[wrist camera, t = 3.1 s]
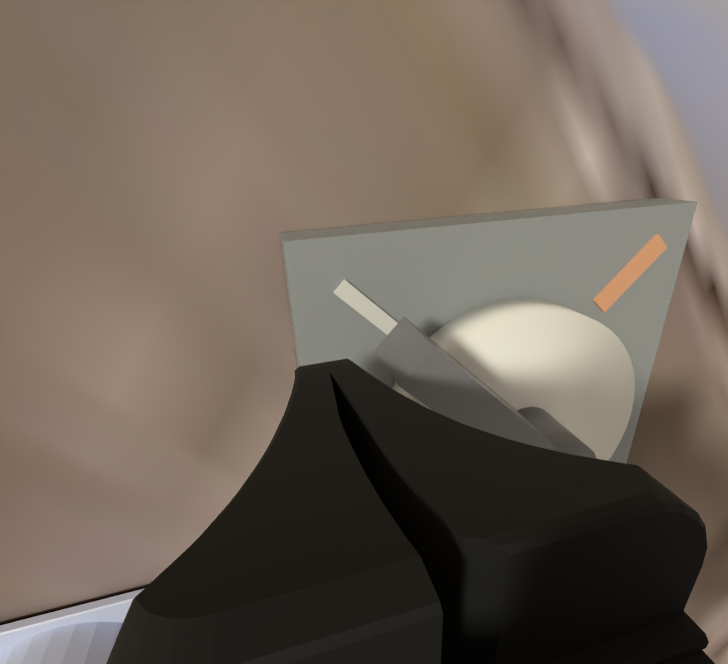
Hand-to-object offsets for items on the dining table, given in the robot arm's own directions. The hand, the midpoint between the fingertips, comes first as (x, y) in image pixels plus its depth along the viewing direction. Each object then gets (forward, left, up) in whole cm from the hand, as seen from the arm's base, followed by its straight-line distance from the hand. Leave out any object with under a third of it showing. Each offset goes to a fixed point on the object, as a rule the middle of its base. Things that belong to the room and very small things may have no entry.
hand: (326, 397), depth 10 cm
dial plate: (-4, -7, -4) cm, 8 cm away
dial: (-3, -6, -2) cm, 7 cm away
